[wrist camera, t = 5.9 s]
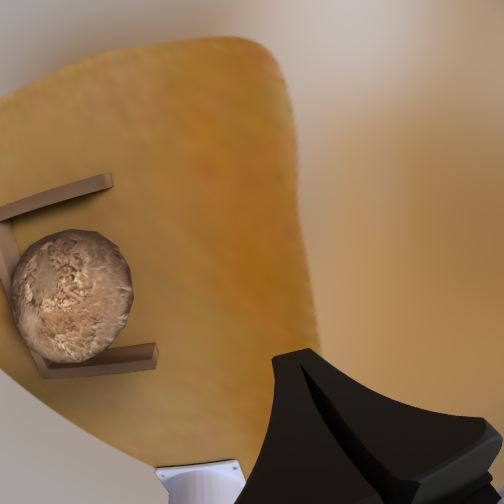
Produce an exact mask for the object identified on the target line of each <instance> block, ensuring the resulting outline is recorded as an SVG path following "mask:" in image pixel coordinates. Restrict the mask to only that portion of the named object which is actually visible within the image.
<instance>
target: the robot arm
mask: <svg viewBox="0 0 504 504" xmlns="http://www.w3.org/2000/svg"><path fill="white" fill-rule="evenodd" d="M272 366H273V372H274V378H275V385H274V398H273V405H272V411H271V417H270V421H269V425H268V429H267V433H266V436H265V439H264V442H263V445H262V448H261V451H260V454H259V456H258V459H257V461H256V463H255V466H254V468H253V470H252V472H251V474H250V476H249V478H248V480H247V482H245V479H244V476H243V474H242V471H241V468H240V465H239V463H238V461H236V460H230V461H223V462H216V463H208V464H200V465H190V466H179V467H166V468H156V469H155V474H156V475H157V477H158V478H159V480H160V481H161V482H162V484H163V485H164V487H165V488H166V489H167V491H168V492H169V504H504V486H503V487H501V488H500V489H499V490H497V491H496V490H495V489H494V487H493V486H492V485H491V484H490V482H491V481H492V480H493V478H492V476H491V474H490V473H489V472H488V469H489V467H490V466H491V464H492V463H493V461H494V459H495V458H496V456H497V455H498V453H499V451H500V449H501V447H502V441H503V438H502V436H501V435H500V434H499V433H498V432H497V431H496V430H495V429H494V428H493V426H492V425H490V424H489V423H488V422H487V421H486V420H485V419H484V418H480V417H466V416H455V415H448V414H443V413H437V412H432V411H428V410H424V409H420V408H417V407H413V406H410V405H407V404H404V403H401V402H398V401H395V400H392V399H390V398H388V397H386V396H383V395H381V394H379V393H377V392H375V391H373V390H370V389H368V388H367V387H365V386H363V385H362V384H360V383H358V382H356V381H355V380H353V379H352V378H350V377H348V376H347V375H346V374H344V373H342V372H341V371H339V370H338V369H337V368H335V367H334V366H332V365H331V364H330V363H328V362H327V361H326V360H324V359H323V358H322V357H320V356H319V355H318V354H317V353H315V352H314V351H313V350H312V349H310V348H306V349H302V350H298V351H294V352H290V353H286V354H282V355H278V356H274V357H273V358H272Z"/></svg>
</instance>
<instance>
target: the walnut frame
mask: <svg viewBox="0 0 504 504" xmlns="http://www.w3.org/2000/svg"><path fill="white" fill-rule="evenodd" d="M113 186H114V185H113V180H112V175H111V173H108V174H100V175H97V176H93V177H90V178H86V179H83V180H79V181H76V182H73V183H69V184H66V185H63V186H60V187H56V188H53V189H50V190H47V191H44V192H41V193H38V194H35V195H32V196H29V197H26V198H24V199H21V200H18V201H15V202H13V203H10V204H7V205H4V206H2V207H0V278H1V281H2V284H3V287H4V289H5V292H6V295H7V298H8V300H9V303H10V295H11V282H12V279H13V275H14V272H15V269H16V266H17V263H18V262H19V260H20V259H21V258H20V254H19V251H18V247H17V243H16V240H15V236H14V232H13V228H12V224H11V219H10V217H13V216H16V215H19V214H22V213H25V212H28V211H31V210H34V209H37V208H40V207H43V206H46V205H50V204H53V203H56V202H60V201H63V200H66V199H70V198H73V197H77V196H80V195H84V194H87V193H91V192H95V191H98V190H102V189H106V188H110V187H113ZM28 348H29V347H28ZM29 350H30V352H31V354H32V356H33V358H34V360H35V362H36V364H37V366H38V368H39V370H40V372H41V374H42V376H43V378H44V379H54V378H72V377H87V376H99V375H110V374H120V373H129V372H138V371H146V370H154V369H156V365H157V360H158V355H159V351H158V348H157V345H156V343H149V344H142V345H135V346H128V347H120V348H112V349H106V350H104V351H103V352H101V353H99V354H97V355H95V356H93V357H92V358H90V359H88V360H86V361H84V362H74V363H57V362H54V361H51V360H49V359H47V358H45V357H43V356H41V355H39V354H37V353H35V352H33V351H32V350H31V349H30V348H29Z"/></svg>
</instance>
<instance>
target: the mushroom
mask: <svg viewBox="0 0 504 504" xmlns="http://www.w3.org/2000/svg"><path fill="white" fill-rule="evenodd" d="M133 299H134V296H133V288H132V281H131V272H130V268H129V266H128V264H127V262H126V261H125V259H124V257H123V255H122V253H121V251H120V250H119V248H118V246H116V245H115V244H114V243H112V242H111V241H109V240H108V239H107V238H105V237H104V236H102V235H101V234H99V233H98V232H94V231H85V230H76V229H69V230H65V231H62V232H58V233H55V234H52V235H48V236H46V237H44V238H42V239H41V240H39V241H37V242H36V243H34V244H32V245H31V246H29V248H28V249H27V250H26V252H25V253H24V255H23V256H22V257H21V259H20V260H19V262H18V263H17V266H16V269H15V272H14V275H13V279H12V282H11V295H10V306H11V310H12V315H13V319H14V323H15V326H16V329H17V331H18V332H19V334H20V335H21V337H22V338H23V340H24V341H25V343H26V344H27V346H28V347H29V348H30V349H31V350H32V351H33V352H35V353H37V354H39V355H41V356H43V357H45V358H47V359H49V360H51V361H54V362H57V363H74V362H84V361H86V360H88V359H90V358H92V357H93V356H95V355H97V354H99V353H101V352H103V351H104V350H106V349H107V348H108V347H109V346H110V345H111V344H112V342H113V341H114V340H115V339H116V337H117V336H118V335H119V334H120V333H121V331H122V330H123V329H124V328H125V326H126V322H127V319H128V316H129V312H130V309H131V306H132V302H133Z"/></svg>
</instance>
